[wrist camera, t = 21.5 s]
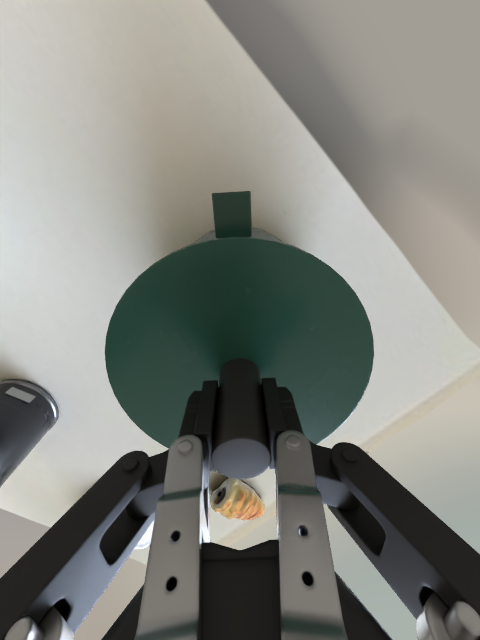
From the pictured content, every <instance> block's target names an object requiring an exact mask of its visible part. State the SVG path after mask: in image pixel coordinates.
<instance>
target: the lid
mask: <svg viewBox="0 0 480 640" xmlns="http://www.w3.org/2000/svg"><path fill="white" fill-rule="evenodd" d="M373 357H374V346H373V335H372V331H371V326H370V322H369V319H368V317H367V314H366V311H365V309H364V307H363V305H362V303H361V302H360V300H359V298H358V296H357V295H356V293H355V292H354V291H353V289H352V288H351V287H350V286H349V285H348V283H347V282H346V281H345V280H344V279H343V278H342V277H341V276H340V275H339V274H338V273H337V272H336V271H334V270H333V269H332V268H331V267H330V266H328V265H327V264H325V263H324V262H322V261H321V260H319V259H318V258H316V257H315V256H313V255H312V254H310V253H307V252H305V251H303V250H301V249H299V248H297V247H294V246H292V245H289V244H285V243H282V242H279V241H275V240H270V239H264V238H257V237H233V236H232V237H224V238H216V239H209V240H206V241H202V242H198V243H194V244H191V245H188V246H186V247H184V248H181V249H179V250H177V251H174V252H172V253H171V254H169V255H167V256H166V257H164V258H162V259H161V260H159V261H157V262H156V263H154V264H153V265H152V266H150V267H149V268H148V269H147V270H146V271H144V272H143V273H142V274H141V275H140V276H138V278H137V279H136V280H135V281H134V282H133V283H132V284H131V285H130V287H129V288H128V289H127V290H126V291H125V293H124V294H123V296H122V298H121V299H120V301H119V302H118V304H117V306H116V308H115V310H114V313H113V315H112V317H111V320H110V323H109V327H108V331H107V335H106V345H105V360H106V369H107V373H108V377H109V382H110V384H111V387H112V389H113V392H114V394H115V396H116V398H117V400H118V401H119V403H120V405H121V407H122V408H123V409H124V411H125V412H126V413H127V415H128V416H129V417H130V419H131V420H132V421H133V422H134V423H135V424H136V425H137V426H138V427H139V428H140V429H141V430H142V431H144V432H145V433H146V434H147V435H149V436H150V437H151V438H152V439H154V440H156V441H157V442H159V443H160V444H162V445H163V446H165V447H167V448H170V446H171V444H172V443H173V442H174V441H175V440H176V439H177V438H178V437H179V433H180V429H181V425H182V421H183V417H184V413H185V409H186V405H187V401H188V398H189V396H190V395H191V394H192V393H193V391H202V386H203V381H209V380H217V381H218V397H217V406H216V416H215V426H214V435H213V445H212V453H211V461H212V464H213V466H214V468H215V469H216V470H217V471H218V472H219V473H221V474H222V475H224V476H227V477H230V478H234V479H248V478H252V477H255V476H258V475H260V474H261V473H263V472H264V471H265V470H266V469H267V468H268V467H269V465H270V463H271V459H272V455H271V448H270V443H269V436H268V429H267V421H266V414H265V407H264V399H263V392H262V378H274V377H275V378H276V383H277V387H287V388H288V390H289V391H290V392H291V393H292V396H293V399H294V403H295V406H296V410H297V413H298V417H299V420H300V423H301V427H302V430H303V433H304V435H305V436H306V437H307V438H308V440H309V441H311V442H312V443H314V444H317V443H319V442H321V441H322V440H324V439H325V438H327V437H328V436H329V435H330V434H332V433H333V432H334V431H335V430H337V429H338V428H339V427H340V426H341V425H342V424H343V423H344V422H345V421H346V420H347V418H348V417H349V416H350V415H351V413H352V412H353V411H354V410H355V408H356V407H357V405H358V403H359V402H360V400H361V398H362V397H363V394H364V392H365V390H366V387H367V385H368V383H369V379H370V375H371V372H372V366H373Z"/></svg>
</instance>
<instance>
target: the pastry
mask: <svg viewBox="0 0 480 640" xmlns="http://www.w3.org/2000/svg"><path fill="white" fill-rule="evenodd" d="M210 503H211V506H212V509H213V510H214V511H215V512H217V511H218V512H219V513H220V514H222V515H223V516H226V517H227V518H228V519H232V518H233V519H234V518H236V519H241V520H252V519H254V518H257V517H259V516H261V515H263V514H264V503H263V502H262V500H261V499H260V497H258V495H257V494H256V493H255V491H254V489H253V488H251V487H250V486H249V485H247V484H246V483H243V482H242V481H241V480H240V479H234V478H228V479H227V480H226V481H224V482H223V483H222V484H221V486H220V487H219V488H218V489H216V490H215V491H214V492H213V493H212V495H211V499H210Z"/></svg>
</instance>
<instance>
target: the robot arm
mask: <svg viewBox="0 0 480 640" xmlns="http://www.w3.org/2000/svg"><path fill="white" fill-rule="evenodd" d="M262 392H263V399H264V407H265V414H266V421H267V429H268V436H269V443H270V448H271V455H272V459H271V463H270V465H269V467H270V469H275V473H276V511H277V540H269V541H266V542H263V543H260V544H258V545H255V546H252V547H250V548H247V549H244V550H236V549H232V548H229V547H225V546H222V545H219V544H215V543H212V542H210V532H209V487H208V483H209V474H210V471H216V469H215V468H214V466H213V464H212V461H211V453H212V445H213V435H214V426H215V416H216V406H217V397H218V381H217V380H209V381H203V386H202V391H193V393H192V394H191V395H190V396H189V398H188V401H187V405H186V409H185V413H184V417H183V421H182V425H181V429H180V433H179V437H178V438H177V439H176V440H175V441H174V442H173V443H172V444H171V446H170V448H169V449H168V450H167V451H165V452H163V453H160V454H157V455H154V456H151V457H148V455H147V454H146V453H145V452H142V451H133V452H130V453H127V454H126V455H124V456H123V457H121V458H120V459H119V460H118V461H117V462H116V463H115V464H114V465H113V466H112V467H111V468H110V469H109V470H108V471H107V472H106V473H105V474H104V475H103V476H102V477H101V478H100V479H99V480H98V481H97V482H96V483H95V484H94V485H93V486H92V487H91V488H90V489H89V490H88V491H87V492H86V493H85V494H84V495H83V496H82V497H81V498H80V499H79V500H78V501H77V502H76V503H75V504H74V505H73V506H72V507H71V508H70V509H69V510H68V511H67V512H66V513H65V514H64V515H63V516H62V517H61V518H60V519H59V520H58V521H57V522H56V523H55V524H54V525H53V526H52V527H51V528H50V529H49V530H48V531H47V532H46V533H45V534H44V535H43V536H42V537H41V538H40V539H39V540H38V541H37V542H36V543H35V544H34V545H33V546H32V547H31V548H30V549H29V551H27V552H26V553H25V554H24V555H23V556H22V557H21V558H20V559H19V560H18V562H16V564H14V565H13V566H12V567H11V568H10V569H9V570H8V571H7V573H5V574H4V575H3V576H2V577H1V578H0V640H74V634H75V632H76V631H77V629H78V628H79V627H80V625H81V624H82V622H83V621H84V619H85V618H86V616H87V615H88V614H89V612H90V611H91V609H92V608H93V607H94V605H95V603H96V602H97V601H98V599H99V598H100V597H101V595H102V594H103V592H104V591H105V589H106V588H107V587H108V585H109V584H110V582H111V581H112V579H113V578H114V576H115V575H116V574H117V572H118V571H119V569H120V568H121V567H122V565H123V563H124V562H125V561H126V559H127V558H128V557H129V555H130V554H131V552H132V551H133V549H134V548H135V547H136V545H137V544H138V542H139V541H140V539H141V538H142V537H143V535H144V534H145V532H146V531H147V529H148V528H149V527H150V525H151V524H152V522H153V521H154V525H153V531H152V537H151V544H150V550H149V557H148V563H147V569H146V576H145V583H144V585H143V586H142V587H141V589H140V590H139V591H138V593H137V594H136V595H135V596H134V598H133V599H132V600H131V602H130V603H129V604H128V606H127V607H126V608H125V610H124V611H123V612H122V614H121V615H120V616H119V617H118V619H117V620H116V621H115V623H114V624H113V625H112V627H111V628H110V629H109V630H108V632H107V633H106V634H105V636H104V637H103V638H102V640H393V639H392V638H391V637H390V636H389V635H388V634H387V632H386V631H385V630H384V629H383V628H382V626H381V625H380V624H379V623H378V622H377V620H376V619H375V618H374V617H373V616H372V615H371V613H370V612H369V611H368V610H367V608H366V607H365V606H364V605H363V604H362V603H361V602H360V600H359V599H358V598H357V597H356V595H355V594H354V593H353V592H352V591H351V590H350V588H349V587H348V586H347V585H346V584H345V582H344V581H343V580H342V579H341V578H340V576H339V575H338V574H337V573H336V572H335V571H334V565H333V560H332V554H331V548H330V543H329V536H328V531H327V525H326V519H325V513H324V508H323V503H324V504H327V506H328V508H329V509H330V510H331V512H332V513H333V514H334V515H335V517H336V518H337V519H338V521H339V522H340V523H341V524H342V526H343V527H344V528H345V529H346V531H347V532H348V533H349V534H350V536H351V537H352V538H353V540H354V541H355V542H356V543H357V544H358V546H359V547H360V548H361V550H362V551H363V552H364V554H365V555H366V556H367V557H368V559H369V560H370V561H371V562H372V564H373V565H374V566H375V567H376V569H377V570H378V571H379V573H380V574H381V575H382V576H383V577H384V579H385V580H386V581H387V583H388V584H389V585H390V586H391V588H392V589H393V590H394V592H395V593H396V594H397V595H398V597H399V598H400V599H401V600H402V602H403V603H404V604H405V606H407V608H408V609H409V611H410V612H411V613H412V614H413V616H414V617H415V618H416V619H417V624H416V632H417V638H418V640H480V554H479V553H477V552H476V551H475V550H474V549H473V548H472V547H471V546H470V545H469V544H467V543H466V542H465V541H464V540H463V539H462V538H461V537H460V536H458V535H457V534H456V533H455V532H454V531H453V530H452V529H451V528H449V527H448V526H447V525H446V524H445V523H444V522H443V521H442V520H440V519H439V518H438V517H437V516H436V515H435V514H434V513H432V512H431V511H430V510H429V509H428V508H427V507H426V506H424V504H422V503H421V502H420V501H419V500H418V499H417V498H416V497H415V496H413V495H412V494H411V493H410V492H409V491H408V490H407V489H405V488H404V487H403V486H402V485H401V484H400V483H399V482H398V481H397V480H395V479H394V478H393V477H392V476H391V475H390V474H389V473H388V472H387V471H385V470H384V469H383V468H382V467H381V466H380V465H378V463H376V462H375V461H374V460H373V459H372V458H370V456H369V455H367V454H366V453H365V452H364V451H363V450H362V449H360V448H359V447H358V446H356V445H354V444H351V443H346V442H342V443H338V444H336V445H334V446H333V448H332V449H330V448H326V447H322V446H318V445H316V444H314V443H312V442H311V441H309V440H308V438H307V437H306V436H305V435H304V433H303V430H302V427H301V423H300V420H299V417H298V413H297V410H296V406H295V403H294V399H293V396H292V393H291V392H290V391H289V390H288V388H287V387H277V383H276V378H275V377H274V378H262ZM58 414H59V412H58V407H57V405H56V403H55V401H54V400H53V398H52V397H51V396H50V395H49V394H48V393H47V392H45V391H44V390H43V389H41V388H40V387H38V386H36V385H34V384H32V383H29V382H26V381H22V380H15V379H9V380H2V381H0V487H1V486H2V485H3V483H4V482H5V481H6V480H7V479H8V477H9V476H10V475H11V474H12V473H13V472H14V470H15V469H16V468H17V467H18V466H19V464H20V463H21V462H22V461H23V460H24V459H25V457H26V456H27V455H28V454H29V453H30V451H31V450H32V449H33V448H34V447H35V446H36V444H37V443H38V442H39V441H40V440H41V438H42V437H43V436H44V435H45V434H46V432H47V431H48V430H50V429H51V428H52V427H53V425H54V424H55V423H56V421H57V419H58Z"/></svg>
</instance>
